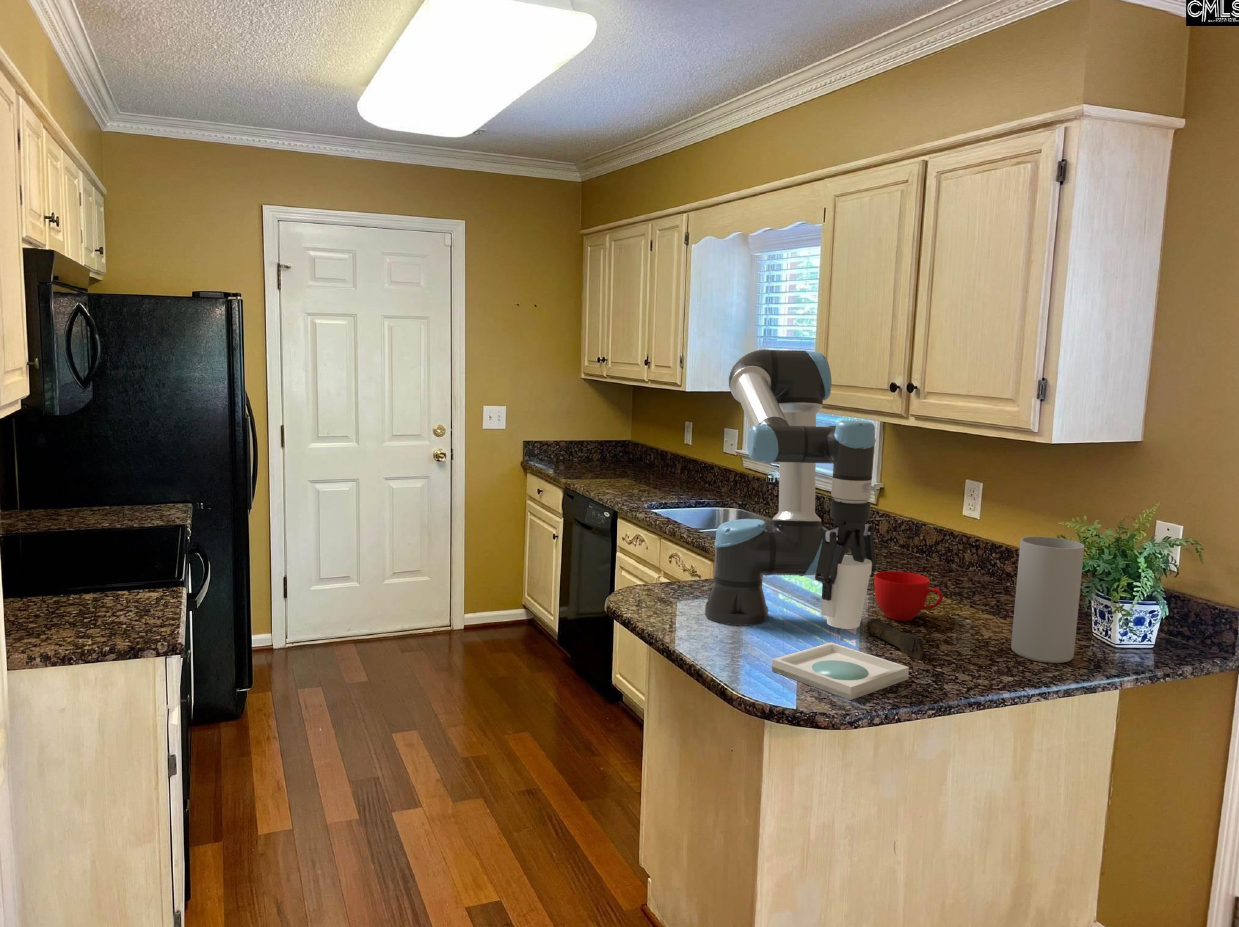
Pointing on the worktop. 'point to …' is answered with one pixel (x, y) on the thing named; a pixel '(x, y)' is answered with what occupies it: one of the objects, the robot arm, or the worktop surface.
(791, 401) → the robot arm
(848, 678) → the square white tray
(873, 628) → the hand tool
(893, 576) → the ceramic cup
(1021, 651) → the cylinder vase
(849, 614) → the foam cup
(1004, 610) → the worktop surface
